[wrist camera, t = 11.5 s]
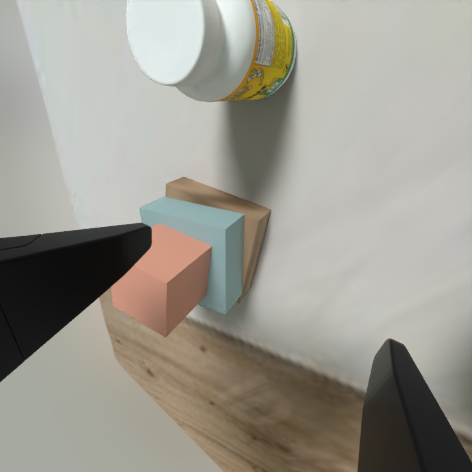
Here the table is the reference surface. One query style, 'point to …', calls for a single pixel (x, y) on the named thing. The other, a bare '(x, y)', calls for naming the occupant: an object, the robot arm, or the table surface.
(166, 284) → the brick cube
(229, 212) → the tower top
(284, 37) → the supplement bottle
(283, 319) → the table surface
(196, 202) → the tower base
